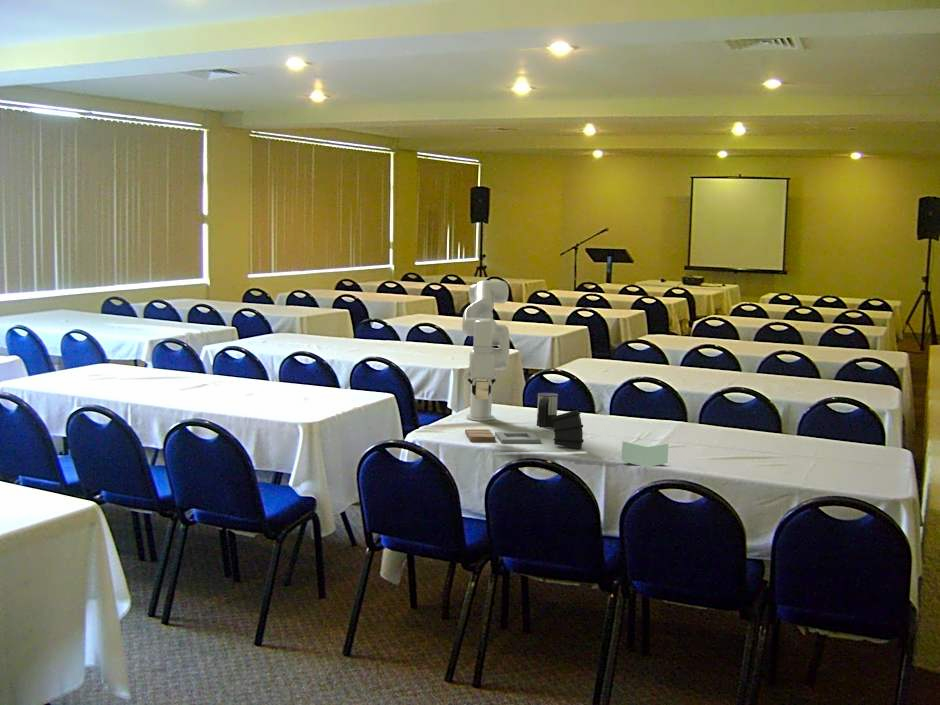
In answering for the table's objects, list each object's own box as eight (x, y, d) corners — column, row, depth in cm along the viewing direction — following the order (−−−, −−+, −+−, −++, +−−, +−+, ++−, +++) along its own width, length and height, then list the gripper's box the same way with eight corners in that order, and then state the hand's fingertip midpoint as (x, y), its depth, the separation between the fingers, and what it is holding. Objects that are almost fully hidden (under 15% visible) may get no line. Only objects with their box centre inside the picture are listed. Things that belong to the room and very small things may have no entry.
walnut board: (465, 434, 422) (465, 429, 422) (488, 434, 423) (488, 429, 423) (470, 441, 406) (470, 436, 406) (495, 441, 408) (495, 436, 407)
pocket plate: (494, 435, 421) (494, 431, 421) (532, 435, 423) (532, 431, 423) (501, 443, 405) (501, 439, 405) (540, 443, 407) (540, 439, 407)
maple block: (474, 397, 415) (474, 380, 414) (486, 397, 416) (486, 380, 415) (475, 398, 410) (476, 381, 409) (488, 399, 411) (488, 381, 410)
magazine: (587, 447, 395) (576, 410, 395) (557, 455, 400) (546, 419, 401) (590, 445, 398) (579, 409, 399) (560, 453, 404) (549, 417, 404)
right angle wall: (667, 463, 379) (668, 443, 378) (646, 467, 371) (647, 447, 370) (642, 457, 388) (643, 438, 387) (621, 461, 380) (622, 441, 379)
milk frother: (535, 425, 447) (536, 392, 445) (571, 426, 446) (572, 393, 445) (536, 431, 433) (537, 397, 431) (573, 432, 432) (574, 398, 431)
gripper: (501, 349, 416) (500, 393, 418) (460, 349, 413) (459, 393, 415) (504, 351, 408) (503, 396, 410) (462, 351, 406) (461, 396, 408)
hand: (481, 394), depth 413 cm, fingers closed on maple block, 5 cm apart
